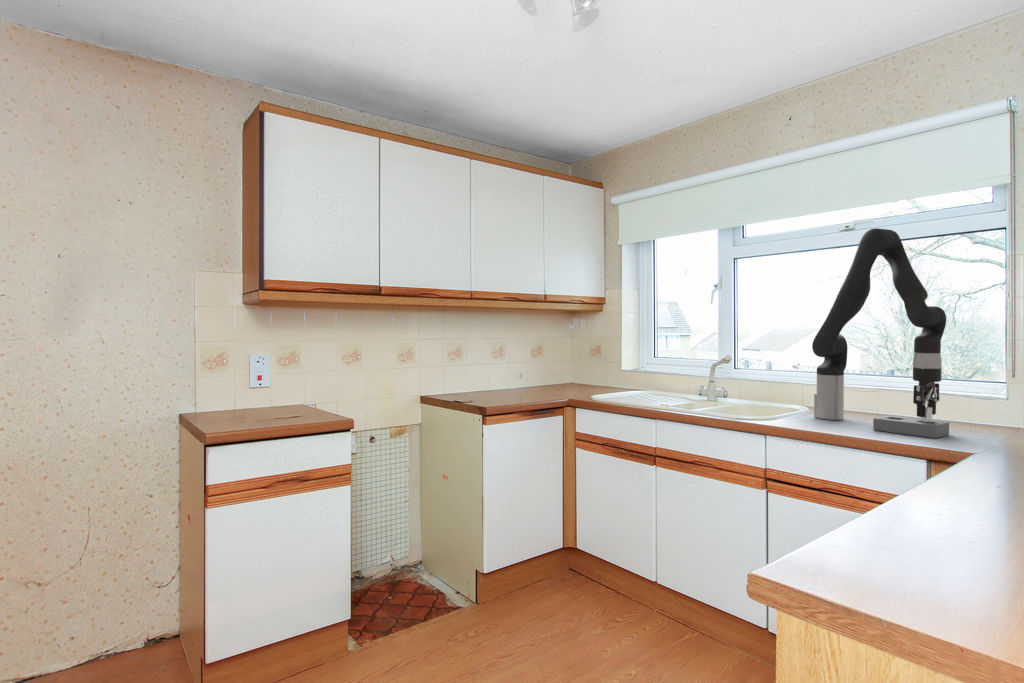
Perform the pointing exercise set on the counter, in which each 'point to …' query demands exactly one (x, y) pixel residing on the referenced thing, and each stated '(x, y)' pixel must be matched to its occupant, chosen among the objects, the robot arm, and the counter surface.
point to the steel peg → (927, 416)
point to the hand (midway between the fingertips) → (926, 415)
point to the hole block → (911, 426)
